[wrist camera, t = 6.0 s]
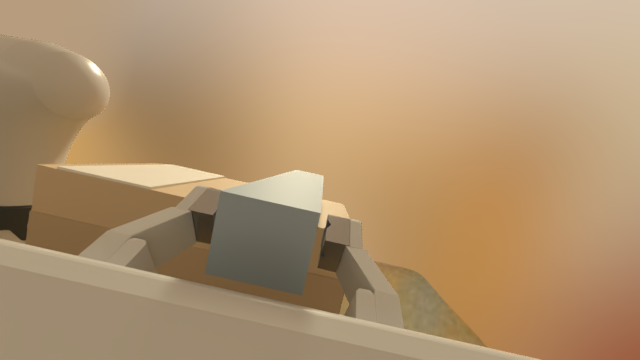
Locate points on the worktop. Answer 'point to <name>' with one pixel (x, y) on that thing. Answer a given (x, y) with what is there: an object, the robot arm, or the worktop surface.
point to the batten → (267, 231)
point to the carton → (145, 199)
